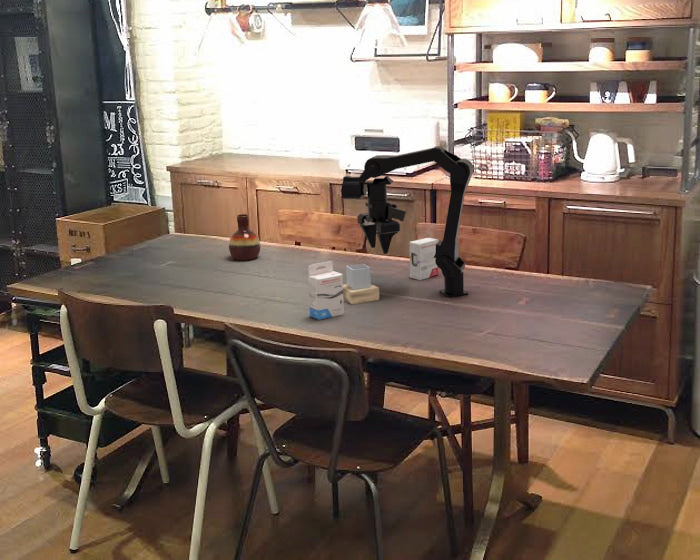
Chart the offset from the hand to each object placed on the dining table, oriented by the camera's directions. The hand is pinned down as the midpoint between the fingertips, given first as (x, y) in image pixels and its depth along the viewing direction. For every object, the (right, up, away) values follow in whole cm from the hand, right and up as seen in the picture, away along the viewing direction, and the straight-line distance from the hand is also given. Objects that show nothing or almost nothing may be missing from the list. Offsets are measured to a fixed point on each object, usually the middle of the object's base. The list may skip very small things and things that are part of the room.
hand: (379, 250), depth 263 cm
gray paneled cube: (-6, -11, -5) cm, 14 cm away
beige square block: (-6, -14, -4) cm, 16 cm away
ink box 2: (+15, -8, +16) cm, 23 cm away
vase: (-46, -1, +48) cm, 66 cm away
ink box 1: (-15, -19, -19) cm, 31 cm away
